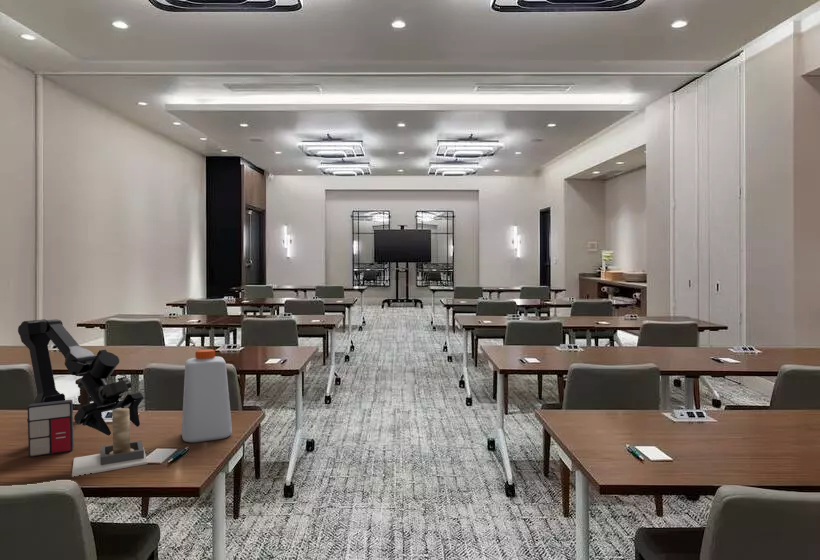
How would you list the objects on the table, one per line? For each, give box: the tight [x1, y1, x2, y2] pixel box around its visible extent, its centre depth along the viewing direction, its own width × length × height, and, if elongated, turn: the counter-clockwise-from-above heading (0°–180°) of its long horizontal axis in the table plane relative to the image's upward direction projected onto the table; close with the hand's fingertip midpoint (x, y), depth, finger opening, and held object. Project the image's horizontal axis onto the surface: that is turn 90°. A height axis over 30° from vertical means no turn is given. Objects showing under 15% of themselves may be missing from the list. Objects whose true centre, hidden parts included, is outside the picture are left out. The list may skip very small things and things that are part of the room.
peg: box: [109, 408, 134, 455], centre depth 156 cm, size 6×6×13 cm
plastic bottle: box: [181, 348, 233, 444], centre depth 177 cm, size 15×15×28 cm
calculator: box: [26, 399, 74, 458], centre depth 161 cm, size 11×4×15 cm, turn 117°
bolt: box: [75, 378, 91, 411], centre depth 197 cm, size 6×5×15 cm
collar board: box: [71, 440, 148, 478], centre depth 153 cm, size 18×15×3 cm
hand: (124, 429), depth 155 cm, fingers open, 9 cm apart
